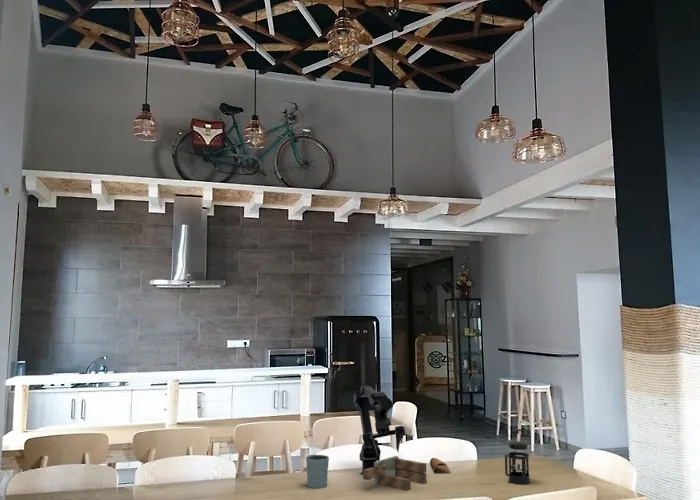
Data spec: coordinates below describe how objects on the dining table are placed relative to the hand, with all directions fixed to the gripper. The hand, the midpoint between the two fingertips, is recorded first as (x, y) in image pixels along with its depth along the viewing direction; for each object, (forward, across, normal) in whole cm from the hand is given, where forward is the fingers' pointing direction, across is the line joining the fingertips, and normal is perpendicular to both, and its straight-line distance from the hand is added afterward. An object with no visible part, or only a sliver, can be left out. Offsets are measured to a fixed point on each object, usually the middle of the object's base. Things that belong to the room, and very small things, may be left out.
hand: (387, 453), depth 240 cm
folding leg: (+6, -7, +7) cm, 12 cm away
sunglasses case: (-1, +20, +43) cm, 48 cm away
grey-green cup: (+6, -33, +6) cm, 34 cm away
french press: (+14, +54, +30) cm, 63 cm away
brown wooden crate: (+8, +2, +17) cm, 19 cm away
